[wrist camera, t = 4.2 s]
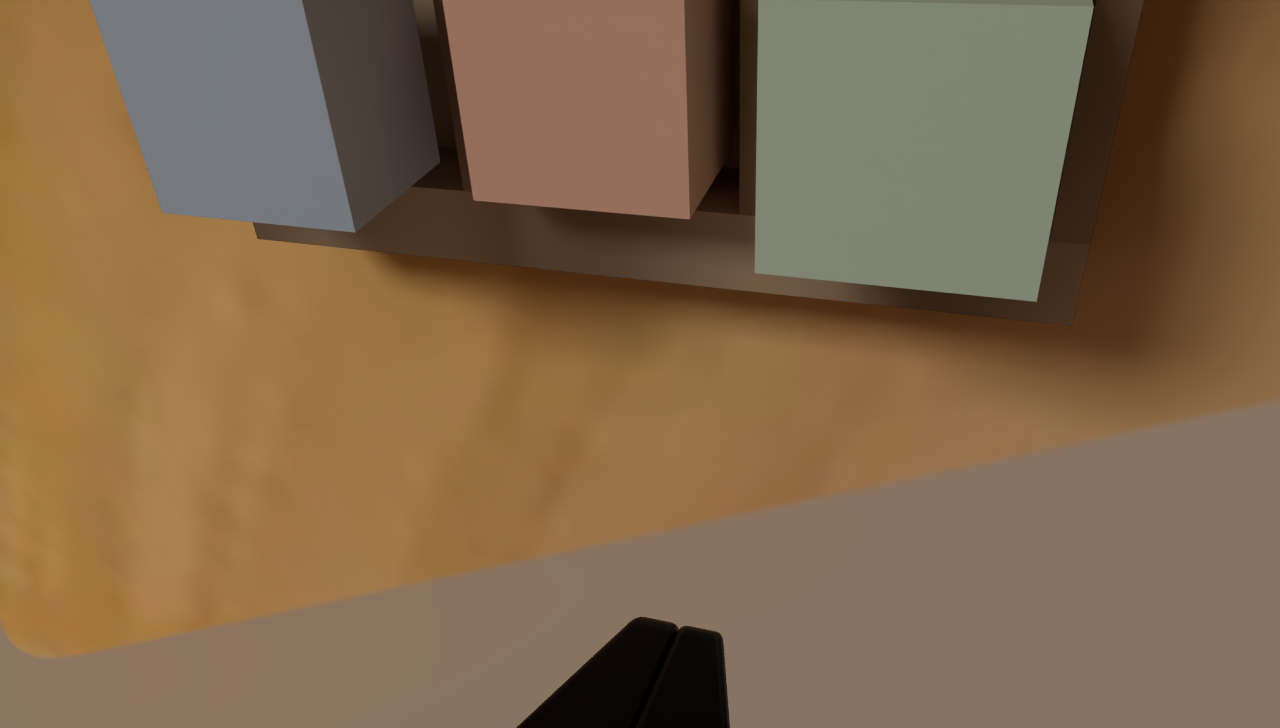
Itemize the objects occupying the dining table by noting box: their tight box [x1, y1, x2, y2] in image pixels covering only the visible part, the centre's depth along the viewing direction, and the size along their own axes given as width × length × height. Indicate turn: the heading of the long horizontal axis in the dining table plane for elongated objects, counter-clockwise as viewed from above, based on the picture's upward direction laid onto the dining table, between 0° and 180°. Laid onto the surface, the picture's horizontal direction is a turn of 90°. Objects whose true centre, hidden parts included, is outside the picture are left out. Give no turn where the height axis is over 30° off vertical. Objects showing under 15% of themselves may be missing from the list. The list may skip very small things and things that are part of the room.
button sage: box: [755, 0, 1094, 302], centre depth 14 cm, size 4×4×3 cm
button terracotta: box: [442, 0, 733, 219], centre depth 17 cm, size 4×4×3 cm
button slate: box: [90, 0, 440, 232], centre depth 17 cm, size 4×4×3 cm
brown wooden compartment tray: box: [253, 0, 1144, 326], centre depth 18 cm, size 16×8×2 cm, turn 93°
